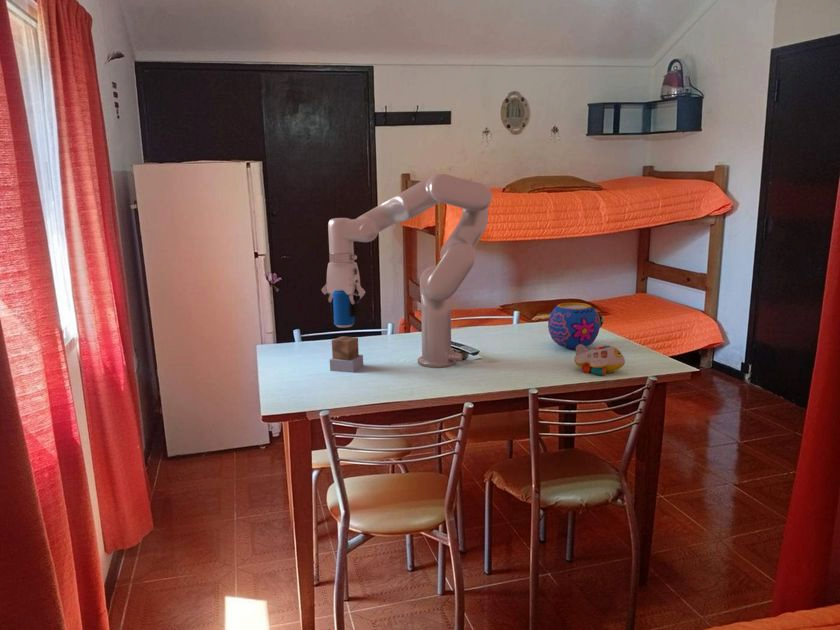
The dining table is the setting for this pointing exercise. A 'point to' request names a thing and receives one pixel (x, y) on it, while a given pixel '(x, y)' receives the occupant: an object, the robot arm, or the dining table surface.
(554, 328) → the ceramic pot
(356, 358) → the base block
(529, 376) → the dining table surface
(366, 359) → the dining table surface
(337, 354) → the walnut cube
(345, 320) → the beverage can
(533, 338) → the dining table surface
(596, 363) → the toy airplane
